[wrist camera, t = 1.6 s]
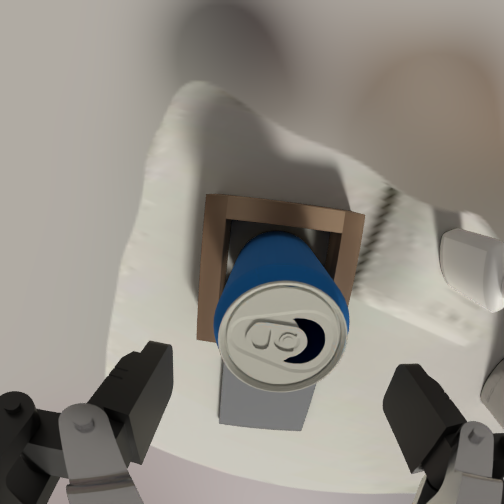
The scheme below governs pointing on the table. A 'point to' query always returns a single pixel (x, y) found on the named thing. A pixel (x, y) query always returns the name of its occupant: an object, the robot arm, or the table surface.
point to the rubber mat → (262, 405)
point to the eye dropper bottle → (474, 267)
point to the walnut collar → (280, 213)
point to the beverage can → (280, 316)
